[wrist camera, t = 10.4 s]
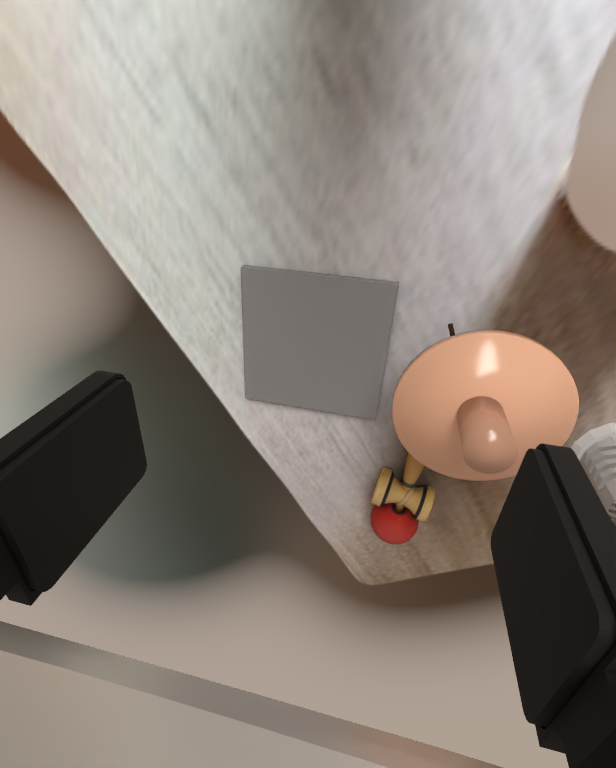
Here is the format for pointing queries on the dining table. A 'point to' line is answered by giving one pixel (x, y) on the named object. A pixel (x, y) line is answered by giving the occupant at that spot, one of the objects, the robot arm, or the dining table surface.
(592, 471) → the french press
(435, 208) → the dining table surface
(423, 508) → the kendama
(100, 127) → the dining table surface
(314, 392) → the mat
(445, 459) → the lid
